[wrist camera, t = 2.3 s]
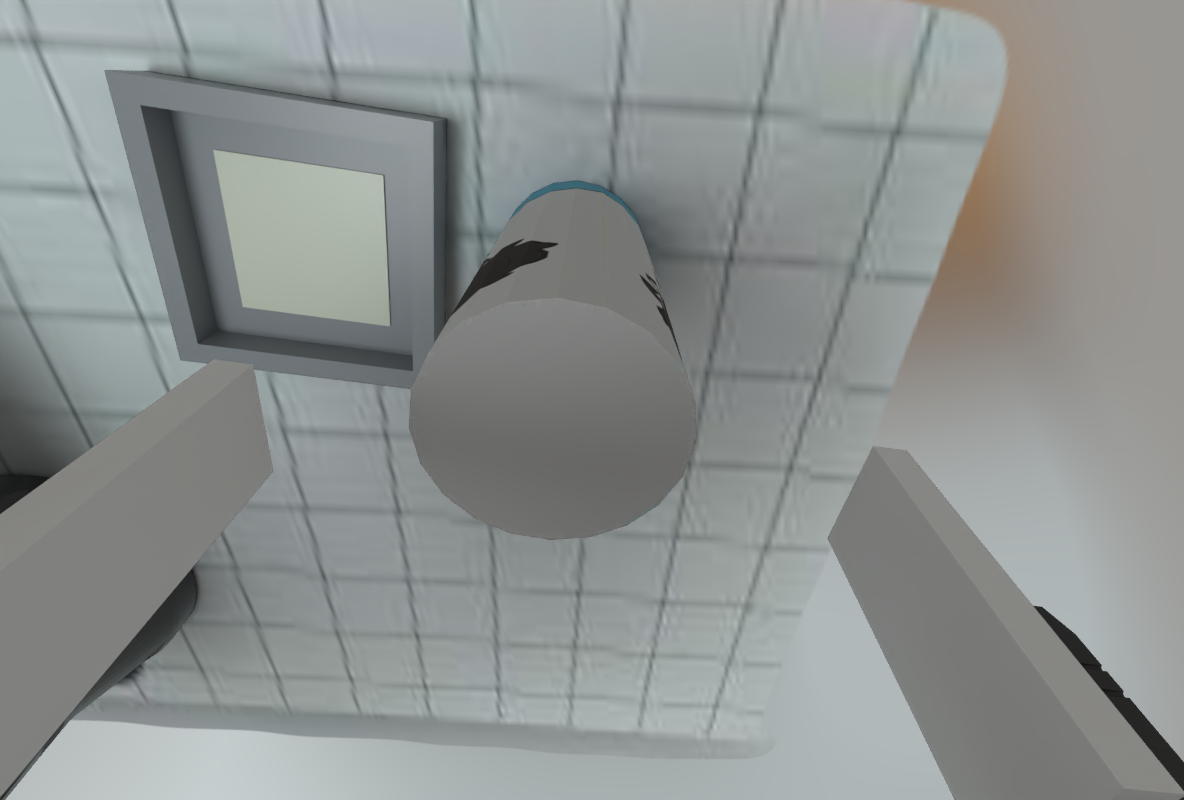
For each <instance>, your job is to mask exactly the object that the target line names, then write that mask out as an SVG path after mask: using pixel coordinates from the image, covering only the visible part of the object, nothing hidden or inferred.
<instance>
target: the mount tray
mask: <svg viewBox="0 0 1184 800" xmlns="http://www.w3.org/2000/svg"><path fill="white" fill-rule="evenodd" d="M104 71H105V74H106V78H107V82H108V86H109V90H110V93H111V97H112V101H113V105H114V109H115V112H116V116H117V120H118V124H119V128H120V132H121V135H122V139H123V143H124V147H125V151H126V154H127V158H128V162H129V166H130V170H131V173H132V177H133V181H134V185H135V189H136V192H137V196H138V200H139V204H140V208H141V211H142V215H143V219H144V223H145V227H146V231H147V234H148V238H149V242H150V246H151V250H152V253H153V257H154V261H155V265H156V269H157V272H158V276H159V280H160V284H161V288H162V291H163V295H164V299H165V303H166V307H167V311H168V314H169V318H170V322H171V326H172V330H173V333H174V337H175V341H176V345H177V349H178V352H179V356H180V360H183V361H191V362H199V363H207V364H208V363H210V362H211V361H212V360H214V359H215V360H223V361H231V362H238V363H246V364H253V368H254V369H255V370H263V371H271V372H279V373H287V374H295V375H303V376H311V377H319V378H327V379H335V380H343V381H351V382H359V383H367V384H375V385H383V386H391V387H399V388H407V389H411V388H412V386H413V384H414V382H415V380H416V378H417V376H418V374H419V372H420V370H421V368H422V365H423V363H424V361H425V359H426V357H427V355H428V353H429V351H430V349H431V348H432V346H433V345H434V343H435V341H436V340H437V338H438V336H439V335H440V333H441V331H442V330H443V328H444V326H445V263H446V143H447V118H440V117H434V116H428V115H422V114H415V113H409V112H403V111H396V110H390V109H384V108H377V107H371V106H365V105H358V104H352V103H346V102H339V101H333V100H327V99H320V98H314V97H308V96H302V95H295V94H289V93H283V92H276V91H270V90H264V89H257V88H251V87H245V86H238V85H232V84H226V83H219V82H213V81H207V80H201V79H194V78H188V77H182V76H175V75H169V74H163V73H156V72H150V71H122V70H104Z"/></svg>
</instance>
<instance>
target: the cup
mask: <svg viewBox="0 0 1184 800" xmlns="http://www.w3.org/2000/svg"><path fill="white" fill-rule="evenodd" d="M409 429H410V432H411V435H412V438H413V441H414V445H415V448H416V451H417V454H418V457H419V460H420V463H421V465H422V466H423V468H424V469H425V470H426V472H427V473H428V474H429V476H430V477H431V478H432V480H433V481H434V482H435V484H436V485H437V486H438V488H439V489H440V491H441V492H442V493H443V494H444V495H445V496H446V497H447V498H449V499H450V500H451V501H453V502H454V503H455V504H457V505H458V506H459V507H461V508H462V509H463V510H465V511H466V512H467V513H468V514H470V515H471V516H472V517H474V518H476V519H478V520H480V521H483V522H485V523H487V524H490V525H492V526H495V527H497V528H499V529H502V530H504V531H507V532H509V533H512V534H518V535H524V536H530V537H536V538H542V539H548V540H555V539H569V538H584V537H592V536H595V535H598V534H601V533H604V532H607V531H610V530H614V529H617V528H620V527H623V526H626V525H628V524H630V523H631V522H633V521H634V520H636V519H637V518H639V517H640V516H642V515H644V514H645V513H647V512H648V511H650V510H651V509H653V508H654V507H656V506H658V505H659V504H660V503H661V501H662V500H663V499H664V498H665V497H666V496H667V494H668V493H669V492H670V491H671V490H672V488H673V487H674V486H675V485H676V484H677V483H678V481H679V480H680V479H681V478H682V477H683V474H684V472H685V469H686V466H687V464H688V461H689V458H690V456H691V453H692V451H693V448H694V445H695V443H696V403H695V400H694V397H693V394H692V391H691V387H690V384H689V381H688V378H687V374H686V371H685V368H684V365H683V362H682V358H681V355H680V352H679V349H678V346H677V342H676V339H675V336H674V333H673V329H672V326H671V323H670V320H669V317H668V313H667V310H666V307H665V304H664V301H663V297H662V294H661V291H660V288H659V284H658V281H657V278H656V275H655V272H654V268H653V265H652V262H651V259H650V256H649V252H648V249H647V246H646V243H645V239H644V237H643V234H642V231H641V229H640V226H639V224H638V221H637V218H636V216H635V215H634V214H633V213H632V212H631V210H630V209H629V208H628V207H627V205H626V204H625V203H624V202H623V201H622V199H621V198H619V197H617V196H616V195H614V194H613V193H611V192H609V191H608V190H606V189H605V188H603V187H601V186H598V185H594V184H590V183H585V182H581V181H569V182H560V183H553V184H551V185H549V186H547V187H544V188H542V189H540V190H538V191H536V192H534V193H532V194H531V195H530V196H529V197H528V198H527V199H526V200H525V201H524V202H523V203H522V204H521V205H520V206H519V207H518V208H517V209H516V210H515V212H514V213H513V215H512V216H511V218H510V220H509V221H508V223H507V225H506V226H505V228H504V230H503V231H502V233H501V235H500V236H499V238H498V239H497V241H496V243H495V244H494V246H493V248H492V249H491V251H490V253H489V254H488V256H487V258H486V259H485V261H484V262H483V264H482V266H481V267H480V269H479V271H478V272H477V274H476V276H475V277H474V279H473V281H472V282H471V284H470V285H469V287H468V289H467V290H466V292H465V294H464V295H463V297H462V299H461V300H460V302H459V303H458V305H457V307H456V308H455V310H454V312H453V313H452V315H451V317H450V318H449V320H448V322H447V323H446V325H445V326H444V328H443V330H442V331H441V333H440V335H439V336H438V338H437V340H436V341H435V343H434V345H433V346H432V348H431V349H430V351H429V353H428V355H427V357H426V359H425V361H424V363H423V365H422V368H421V370H420V372H419V374H418V376H417V378H416V380H415V382H414V384H413V386H412V388H411V402H410V419H409Z"/></svg>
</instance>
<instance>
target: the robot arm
mask: <svg viewBox="0 0 1184 800" xmlns="http://www.w3.org/2000/svg"><path fill="white" fill-rule="evenodd" d="M272 472H273V467H272V462H271V456H270V451H269V446H268V441H267V436H266V430H265V425H264V420H263V415H262V410H261V404H260V399H259V394H258V389H257V384H256V378H255V373H254V368H253V364H246V363H238V362H231V361H223V360H215V359H214V360H212V361H211V362H210V363H208V364H207V365H206V366H204V367H203V368H201V369H200V370H199V371H197V372H196V373H194V374H193V375H192V376H190V377H189V378H188V379H186V380H185V381H183V382H182V383H181V384H179V385H178V386H177V387H175V388H174V389H172V390H171V391H170V392H168V393H167V394H165V395H164V396H163V397H161V398H160V399H159V400H157V401H156V402H154V403H153V404H152V405H150V406H149V407H148V408H146V409H145V410H143V411H142V412H141V413H139V414H138V415H137V416H135V417H134V418H132V419H131V420H130V421H128V422H127V423H125V424H124V425H123V426H121V427H120V428H119V429H117V430H116V431H114V432H113V433H112V434H110V435H109V436H108V437H106V438H105V439H103V440H102V441H101V442H99V443H98V444H96V445H95V446H94V447H92V448H91V449H90V450H88V451H87V452H85V453H84V454H83V455H81V456H80V457H79V458H77V459H76V460H74V461H73V462H72V463H70V464H69V465H68V466H66V467H65V468H63V469H62V470H61V471H59V472H58V473H56V474H55V475H54V476H52V477H51V478H50V479H45V478H39V477H31V476H0V800H5V799H6V798H7V797H8V795H9V794H10V793H11V792H12V791H13V789H14V788H15V787H16V786H17V784H18V783H19V782H20V781H21V779H22V778H23V777H24V776H25V775H26V773H27V772H28V771H29V770H30V768H31V767H32V766H33V765H34V763H35V762H36V761H37V760H38V758H39V757H40V756H41V755H42V753H43V752H44V751H45V749H47V747H48V746H49V745H50V744H51V743H52V741H53V740H54V739H55V738H56V736H57V735H58V734H59V733H60V731H61V730H62V729H63V728H64V727H65V726H66V724H67V723H68V722H69V721H70V720H71V719H72V718H73V717H74V716H75V715H76V714H78V713H79V712H80V711H82V710H83V709H84V708H85V707H87V706H88V705H89V704H91V703H92V702H93V701H94V700H96V699H97V698H98V697H100V696H101V695H102V694H103V693H105V692H106V691H107V690H108V689H110V688H111V687H112V686H114V685H115V684H116V683H117V682H119V681H120V680H121V679H122V678H124V677H125V676H126V675H127V674H128V673H130V672H131V671H132V670H133V669H135V668H136V667H137V666H138V665H139V664H141V663H142V662H144V661H146V660H147V659H149V658H150V657H152V656H153V655H155V654H156V653H158V652H159V651H161V650H162V649H163V648H164V647H165V646H166V645H167V644H168V643H169V642H170V641H171V639H172V638H173V637H174V635H175V634H176V633H177V631H178V630H179V629H180V628H181V626H182V625H183V624H184V622H185V621H186V620H187V618H188V617H189V616H190V614H191V612H192V610H193V608H194V606H195V601H196V586H195V581H194V578H193V575H192V572H191V569H192V568H193V566H194V565H195V564H196V563H197V562H198V560H199V559H200V558H201V557H202V556H203V554H204V553H205V552H206V551H207V550H208V548H209V547H210V546H211V545H212V544H213V542H214V541H215V540H216V539H217V538H218V537H219V535H220V534H221V533H222V532H223V531H224V529H225V528H226V527H227V526H228V525H229V523H230V522H231V521H232V520H233V519H234V517H235V516H236V515H237V514H238V513H239V511H240V510H241V509H242V508H243V507H244V505H245V504H246V503H247V502H248V501H249V500H250V498H251V497H252V496H253V495H254V494H255V492H256V491H257V490H258V489H259V488H260V486H261V485H262V484H263V483H264V482H265V480H266V479H267V478H268V477H269V476H270V474H271V473H272ZM828 540H829V542H830V544H831V546H832V548H833V551H834V552H835V555H836V557H837V559H838V561H839V563H840V565H841V567H842V569H843V571H844V573H845V575H846V577H847V579H848V581H849V583H850V586H851V587H852V589H853V592H854V594H855V596H856V598H857V600H858V602H859V604H860V606H861V608H862V610H863V612H864V614H865V616H866V618H867V620H868V623H869V625H870V627H871V628H872V631H873V633H874V635H875V637H876V639H877V641H878V643H879V645H880V647H881V649H882V651H883V653H884V655H885V658H886V660H887V662H888V664H889V665H890V667H891V670H892V672H893V674H894V676H895V678H896V680H897V682H898V684H899V686H900V688H901V690H902V692H903V695H904V697H905V699H906V701H907V703H908V705H909V707H910V709H911V711H912V713H913V715H914V717H915V719H916V721H917V723H918V725H919V727H920V730H921V732H922V734H923V736H924V738H925V740H926V742H927V744H928V746H929V748H930V750H931V752H932V754H933V756H934V758H935V760H936V762H937V765H938V766H939V769H940V771H941V773H942V775H943V777H944V779H945V781H946V783H947V785H948V787H949V789H950V791H951V793H952V795H953V797H954V800H1184V762H1183V761H1182V760H1181V758H1180V757H1179V756H1178V755H1177V754H1176V753H1175V751H1174V750H1173V749H1172V748H1171V747H1170V746H1169V744H1168V743H1167V742H1166V741H1165V740H1164V739H1163V737H1162V736H1161V735H1160V734H1159V732H1158V731H1157V730H1156V729H1155V728H1154V727H1153V725H1152V724H1151V723H1150V722H1149V721H1148V720H1147V718H1146V717H1145V716H1144V715H1143V714H1142V712H1141V711H1140V710H1139V709H1138V708H1137V706H1136V705H1135V704H1134V703H1133V702H1132V701H1131V699H1130V698H1125V697H1124V695H1123V690H1122V689H1121V688H1120V686H1119V685H1118V684H1117V683H1116V682H1115V681H1114V680H1113V678H1112V677H1111V676H1110V675H1109V674H1108V672H1106V671H1102V669H1101V666H1102V665H1101V664H1100V663H1099V662H1098V660H1096V658H1095V657H1094V656H1093V655H1092V654H1091V652H1090V651H1089V650H1088V649H1087V648H1086V646H1085V645H1084V644H1083V643H1082V642H1081V641H1080V639H1079V638H1078V637H1077V636H1076V634H1074V633H1073V632H1072V631H1071V630H1069V629H1068V628H1067V627H1066V626H1065V625H1063V624H1062V623H1061V622H1060V621H1058V620H1057V619H1056V618H1055V617H1054V616H1052V615H1051V614H1050V613H1049V612H1048V611H1046V610H1045V609H1044V608H1043V607H1038V606H1033V605H1032V604H1031V603H1030V601H1029V600H1028V599H1027V598H1026V597H1025V596H1024V594H1023V593H1022V592H1021V590H1020V589H1019V588H1018V587H1017V585H1016V584H1015V583H1014V582H1013V581H1012V579H1011V578H1010V577H1009V576H1008V574H1007V573H1006V572H1005V571H1004V569H1003V568H1002V567H1001V566H1000V565H999V563H998V562H997V561H996V560H995V559H994V557H993V556H992V555H991V553H990V552H989V551H988V550H987V548H986V547H985V546H984V545H983V544H982V543H981V541H980V540H979V539H978V537H977V536H976V535H975V534H974V533H973V531H972V530H971V529H970V528H969V526H968V525H967V524H966V523H965V521H964V520H963V519H962V518H961V517H960V515H959V514H958V513H957V512H956V510H955V509H954V508H953V507H952V506H951V504H950V503H949V502H948V501H947V499H946V498H945V497H944V496H943V494H942V493H941V492H940V491H939V489H938V488H937V487H936V486H935V485H934V483H933V482H932V481H931V480H930V479H929V477H928V476H927V475H926V473H925V472H924V471H923V470H922V469H921V467H920V466H919V465H918V464H917V462H916V461H915V460H914V459H913V457H912V456H911V455H910V454H909V453H908V451H906V450H898V449H890V448H883V447H876V446H873V447H872V449H871V451H870V454H869V456H868V458H867V460H866V462H865V464H864V466H863V468H862V470H861V472H860V474H859V476H858V478H857V480H856V482H855V484H854V486H853V488H852V490H851V492H850V494H849V496H848V498H847V500H846V502H845V504H844V506H843V508H842V510H841V512H840V514H839V516H838V518H837V520H836V522H835V524H834V526H833V528H832V530H831V532H830V534H829V536H828Z"/></svg>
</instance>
